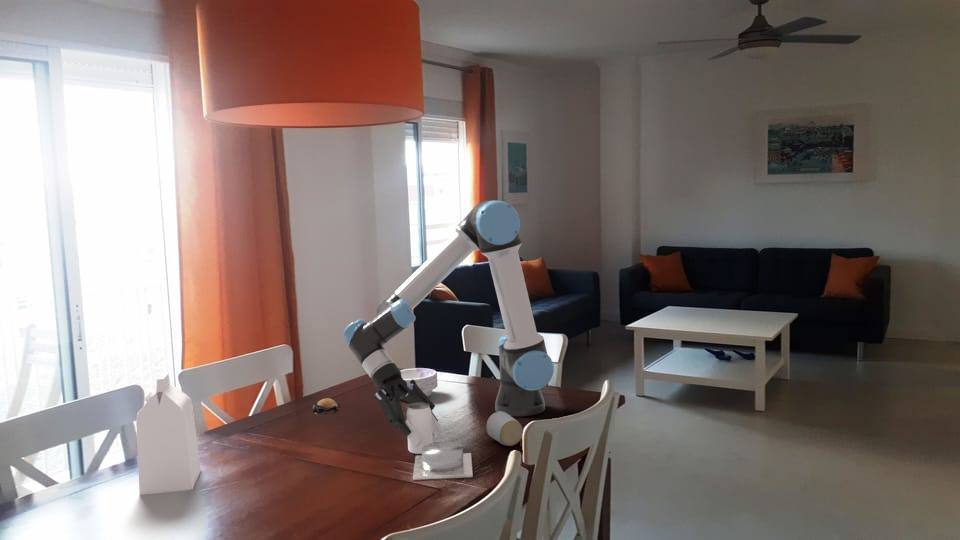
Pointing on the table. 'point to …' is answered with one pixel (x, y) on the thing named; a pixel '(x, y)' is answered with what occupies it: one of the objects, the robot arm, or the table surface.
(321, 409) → the toy turtle
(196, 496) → the table surface
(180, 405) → the milk
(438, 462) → the duct collar
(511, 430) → the ceramic mug
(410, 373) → the white bowl
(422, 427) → the can
